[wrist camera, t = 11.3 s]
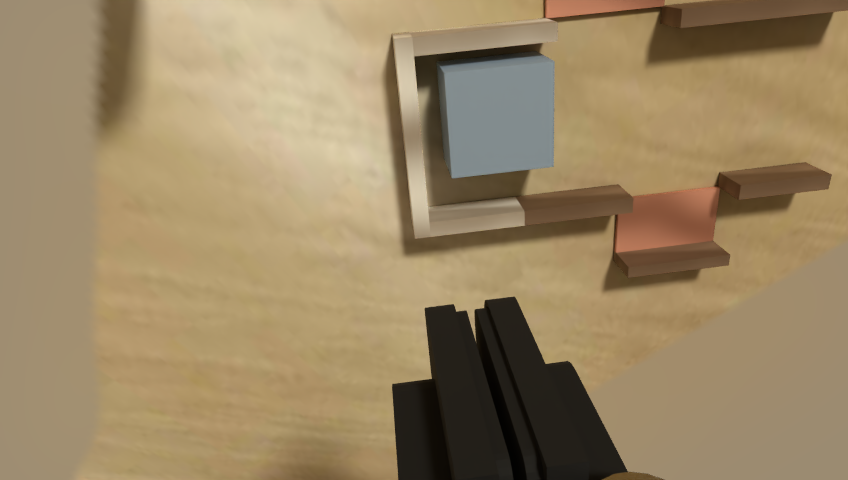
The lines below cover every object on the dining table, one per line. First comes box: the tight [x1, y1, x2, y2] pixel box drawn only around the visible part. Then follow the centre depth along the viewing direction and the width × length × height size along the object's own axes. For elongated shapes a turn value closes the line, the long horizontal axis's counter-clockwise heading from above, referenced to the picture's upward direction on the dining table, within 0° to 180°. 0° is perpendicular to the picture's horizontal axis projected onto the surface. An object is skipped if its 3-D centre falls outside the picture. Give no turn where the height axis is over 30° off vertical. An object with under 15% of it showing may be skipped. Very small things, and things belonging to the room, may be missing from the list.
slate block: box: [437, 51, 554, 178], centre depth 35 cm, size 6×6×4 cm
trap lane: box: [392, 0, 848, 278], centre depth 36 cm, size 22×27×2 cm
